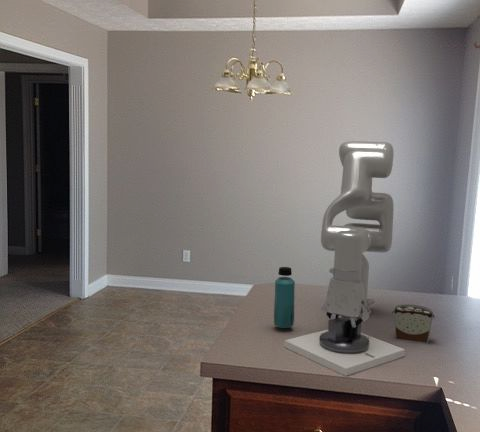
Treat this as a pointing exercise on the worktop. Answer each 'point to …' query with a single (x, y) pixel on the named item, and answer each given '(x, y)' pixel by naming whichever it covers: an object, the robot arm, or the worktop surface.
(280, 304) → the beverage bottle
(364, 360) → the dial plate
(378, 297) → the worktop surface
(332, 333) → the dial
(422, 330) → the food container
